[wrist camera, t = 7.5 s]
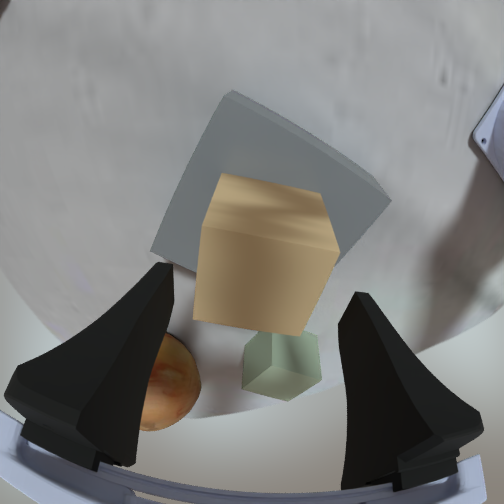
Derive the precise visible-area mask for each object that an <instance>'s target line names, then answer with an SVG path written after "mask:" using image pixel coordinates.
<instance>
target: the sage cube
mask: <svg viewBox="0 0 504 504" xmlns="http://www.w3.org/2000/svg"><path fill="white" fill-rule="evenodd" d="M321 380H322V376H321V366H320V357H319V348H318V339H317V335H314V334H312V333H309V332H307V331H304V330H303V331H302V333H301V335H300V336H292V335H284V334H277V333H270V332H263V331H259V332H258V333H257V334H256V335H255V336H254V337H253V338H252V339H251V340H250V341H249V342H248V343H247V344H246V345H245V353H244V365H243V377H242V388H241V389H243V390H246V391H250V392H253V393H257V394H261V395H264V396H268V397H272V398H276V399H280V400H284V401H290V400H291V399H293V398H295V397H296V396H298V395H299V394H301V393H303V392H304V391H306V390H307V389H309V388H310V387H312V386H314V385H315V384H317V383H318V382H320V381H321Z"/></svg>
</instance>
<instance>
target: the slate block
mask: <svg viewBox="0 0 504 504" xmlns="http://www.w3.org/2000/svg"><path fill="white" fill-rule="evenodd" d="M221 173H226V174H231V175H237V176H242V177H247V178H252V179H257V180H262V181H267V182H272V183H277V184H281V185H286V186H291V187H295V188H300V189H304V190H308V191H313V192H317V193H320V194H321V196H322V199H323V202H324V205H325V208H326V211H327V213H328V216H329V219H330V222H331V225H332V228H333V231H334V234H335V237H336V240H337V243H338V246H339V250H340V254H339V257H338V259H337V261H336V263H335V266H336V265H337V263H338V262H339V261H340V260H341V259H342V258H343V257H344V256H345V255H346V253H347V252H348V251H349V250H350V249H351V248H352V247H353V246H354V244H355V243H356V242H357V241H358V240H359V239H360V238H361V236H362V235H363V234H364V233H365V232H366V231H367V230H368V228H369V227H370V226H371V225H372V224H373V223H374V221H375V220H376V219H377V218H378V217H379V215H380V214H381V213H382V212H383V211H384V210H385V208H386V207H387V206H388V205H389V203H390V202H391V201H392V200H391V199H390V197H389V196H388V195H387V193H386V192H385V191H384V190H383V188H382V187H381V186H380V184H379V183H378V182H377V181H376V179H375V178H374V177H373V176H372V175H371V174H370V173H368V172H367V171H366V170H364V169H363V168H361V167H360V166H359V165H357V164H356V163H354V162H353V161H352V160H350V159H349V158H347V157H346V156H344V155H343V154H341V153H340V152H339V151H337V150H336V149H334V148H333V147H331V146H330V145H328V144H327V143H325V142H323V141H322V140H320V139H319V138H317V137H316V136H314V135H312V134H311V133H309V132H308V131H306V130H304V129H303V128H301V127H300V126H298V125H296V124H295V123H293V122H291V121H290V120H288V119H286V118H284V117H283V116H281V115H279V114H277V113H276V112H274V111H272V110H270V109H269V108H267V107H265V106H263V105H261V104H259V103H257V102H256V101H254V100H252V99H250V98H248V97H246V96H244V95H242V94H240V93H238V92H236V91H234V90H231V91H230V92H229V93H227V94H226V95H224V96H223V98H222V100H221V102H220V103H219V105H218V107H217V109H216V111H215V112H214V114H213V116H212V118H211V120H210V122H209V124H208V126H207V127H206V129H205V131H204V133H203V135H202V137H201V139H200V141H199V143H198V145H197V147H196V149H195V151H194V153H193V155H192V157H191V159H190V161H189V163H188V165H187V167H186V169H185V171H184V174H183V176H182V178H181V180H180V182H179V184H178V186H177V189H176V191H175V193H174V195H173V197H172V200H171V202H170V204H169V207H168V209H167V211H166V213H165V216H164V218H163V220H162V223H161V225H160V228H159V230H158V232H157V235H156V237H155V240H154V242H153V245H152V247H151V250H150V251H151V252H153V253H155V254H157V255H159V256H161V257H163V258H165V259H168V260H170V261H172V262H174V263H176V264H178V265H180V266H183V267H185V268H187V269H189V270H191V271H193V272H196V273H197V266H198V256H199V246H200V237H201V229H202V224H203V221H204V218H205V216H206V213H207V210H208V208H209V205H210V202H211V200H212V197H213V194H214V192H215V189H216V186H217V184H218V181H219V179H220V176H221ZM335 266H334V267H335Z"/></svg>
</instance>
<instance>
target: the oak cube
mask: <svg viewBox="0 0 504 504" xmlns="http://www.w3.org/2000/svg"><path fill="white" fill-rule="evenodd" d="M339 254H340V250H339V246H338V243H337V240H336V237H335V234H334V231H333V228H332V225H331V222H330V219H329V216H328V213H327V211H326V208H325V205H324V202H323V199H322V196H321V194H320V193H317V192H313V191H308V190H304V189H300V188H295V187H291V186H286V185H281V184H277V183H272V182H267V181H262V180H257V179H252V178H247V177H242V176H237V175H231V174H226V173H221V176H220V179H219V181H218V184H217V186H216V189H215V192H214V194H213V197H212V200H211V202H210V205H209V208H208V210H207V213H206V216H205V218H204V221H203V224H202V229H201V237H200V246H199V256H198V266H197V276H196V287H195V298H194V310H193V319H194V320H199V321H204V322H210V323H215V324H221V325H226V326H232V327H238V328H244V329H250V330H257V331H263V332H270V333H277V334H284V335H292V336H300V335H301V333H302V331H303V329H304V328H305V326H306V324H307V322H308V320H309V318H310V316H311V314H312V312H313V310H314V308H315V306H316V304H317V302H318V300H319V297H320V295H321V293H322V291H323V289H324V287H325V285H326V283H327V281H328V279H329V276H330V274H331V272H332V270H333V268H334V266H335V263H336V261H337V259H338V257H339Z"/></svg>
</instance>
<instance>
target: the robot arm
mask: <svg viewBox="0 0 504 504" xmlns="http://www.w3.org/2000/svg"><path fill="white" fill-rule="evenodd" d="M473 139H474V141H475V142H476V143H477V145H478V146H479V147H480V149H481V150H482V151H483V153H484V154H485V155H486V157H487V158H488V160H489V161H490V162H491V164H492V165H493V167H494V168H495V170H496V171H497V173H498V174H499V176H500V177H501V179H502V180H503V182H504V86H503V87H502V89H501V91H500V92H499V94H498V95H497V97H496V99H495V100H494V102H493V103H492V105H491V106H490V108H489V109H488V111H487V113H486V114H485V115H484V117H483V118H482V120H481V121H480V123H479V124H478V126H477V127H476V129H475V130H474V132H473ZM482 139H483V142H482V143H481V141H482ZM173 305H174V278H173V264H168V263H162V262H157V263H156V264H155V265H154V266H153V267H152V268H151V269H150V270H149V271H148V272H147V273H146V274H145V275H144V276H143V277H142V278H141V280H140V281H139V282H138V283H137V284H136V285H135V286H134V287H133V288H132V289H131V290H129V291H128V292H127V293H126V294H125V295H124V296H123V297H122V298H121V299H120V300H119V301H118V302H117V303H116V304H115V305H113V306H112V307H111V308H110V309H109V310H108V311H107V312H106V313H104V314H103V315H102V316H101V317H100V318H98V319H97V320H96V321H94V322H93V323H92V324H91V325H89V326H88V327H87V328H85V329H84V330H82V331H81V332H79V333H78V334H77V335H75V336H74V337H72V338H71V339H69V340H67V341H66V342H64V343H62V344H61V345H59V346H57V347H55V348H54V349H52V350H50V351H48V352H46V353H45V354H43V355H41V356H39V357H36V358H34V359H32V360H30V361H27V362H25V363H23V364H20V365H18V366H17V368H16V370H15V372H14V374H13V375H12V378H11V380H10V382H9V384H8V386H7V389H6V391H5V393H4V397H5V399H6V401H7V402H8V403H9V404H10V405H11V406H12V407H13V408H14V409H15V410H17V411H18V412H19V413H20V414H21V415H22V416H23V417H25V418H26V420H25V423H24V424H22V423H21V422H19V421H18V420H16V419H14V418H13V417H11V416H9V415H8V414H6V413H4V412H3V411H1V410H0V477H1V478H2V479H4V480H5V481H6V482H8V483H9V484H11V485H12V486H13V487H15V488H16V489H18V490H19V491H21V492H22V493H24V494H25V495H27V496H28V497H29V498H31V499H32V500H34V501H36V502H37V503H39V504H164V503H160V502H156V501H152V500H148V499H144V498H141V497H137V496H136V495H135V493H134V491H133V490H135V491H139V492H143V493H146V494H150V495H154V496H159V497H163V498H167V499H172V500H177V501H182V502H188V503H194V504H481V503H483V502H484V501H486V500H487V496H486V489H485V481H484V475H483V469H482V464H481V459H480V455H479V454H477V455H475V456H472V457H470V458H467V459H464V460H462V461H460V462H457V461H456V457H458V456H459V455H460V452H459V448H460V447H462V446H464V445H466V444H467V443H469V442H470V441H472V440H474V439H475V438H477V437H478V436H479V435H481V434H482V433H483V431H484V427H483V423H482V419H481V415H480V412H479V411H477V410H476V409H474V408H473V407H471V406H470V405H468V404H467V403H465V402H464V401H463V400H461V399H460V398H459V397H458V396H456V395H455V394H454V393H452V392H451V391H450V390H449V389H448V388H446V386H444V385H443V384H442V383H441V382H440V381H439V380H438V379H437V378H436V377H435V376H434V375H433V374H432V373H431V372H430V371H429V370H428V369H427V368H426V367H425V366H424V365H423V364H422V363H421V361H420V360H419V359H418V358H417V357H416V356H415V354H414V353H413V352H412V351H411V350H410V348H409V347H408V346H407V345H406V343H405V342H404V341H403V339H402V338H401V337H400V335H399V334H398V333H397V331H396V330H395V329H394V327H393V326H392V325H391V323H390V322H389V320H388V319H387V318H386V316H385V315H384V313H383V312H382V311H381V309H380V308H379V306H378V305H377V304H376V302H375V301H374V300H373V298H372V297H371V296H370V295H369V293H364V292H356V291H355V293H354V295H353V297H352V299H351V301H350V303H349V304H348V306H347V308H346V310H345V312H344V314H343V316H342V318H341V319H340V321H339V323H338V340H339V351H340V357H341V363H342V369H343V375H344V382H345V387H346V397H347V441H346V454H345V462H344V469H343V475H342V481H341V490H339V491H328V492H313V493H256V492H240V491H229V490H219V489H212V488H205V487H198V486H192V485H186V484H181V483H176V482H171V481H166V480H162V479H158V478H153V477H149V476H146V475H142V474H138V473H135V472H131V471H128V470H124V469H121V468H118V467H115V466H113V465H117V466H125V467H130V466H132V465H134V464H135V463H136V452H137V444H138V437H139V430H140V423H141V417H142V412H143V407H144V401H145V397H146V392H147V387H148V383H149V379H150V375H151V372H152V369H153V366H154V363H155V360H156V357H157V355H158V352H159V349H160V346H161V344H162V341H163V338H164V336H165V333H166V330H167V327H168V325H169V321H170V317H171V313H172V309H173ZM131 489H132V490H131Z"/></svg>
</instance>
